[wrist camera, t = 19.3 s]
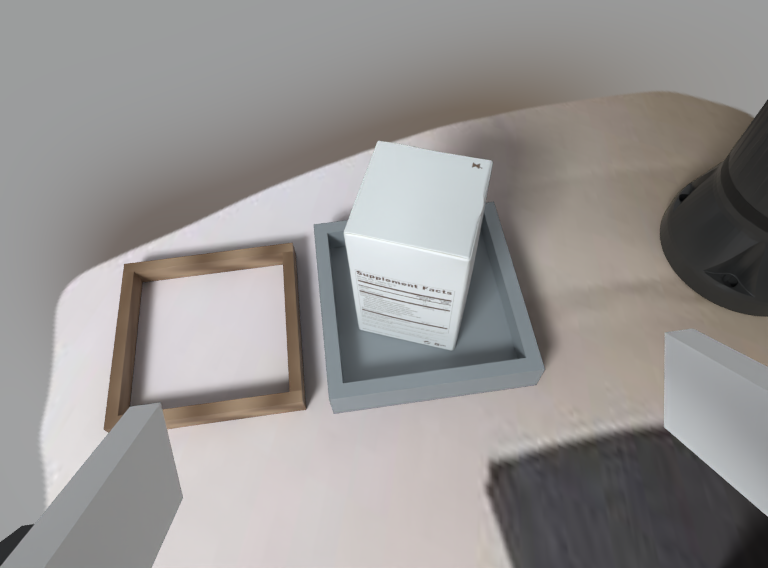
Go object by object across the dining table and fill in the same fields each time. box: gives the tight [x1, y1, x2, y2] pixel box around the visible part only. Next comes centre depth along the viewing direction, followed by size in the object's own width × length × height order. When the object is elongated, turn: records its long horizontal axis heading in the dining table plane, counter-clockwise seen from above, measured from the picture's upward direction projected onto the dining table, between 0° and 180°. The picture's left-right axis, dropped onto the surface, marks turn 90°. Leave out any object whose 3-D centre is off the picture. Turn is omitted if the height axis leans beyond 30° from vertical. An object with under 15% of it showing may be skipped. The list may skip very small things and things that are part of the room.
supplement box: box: [344, 141, 493, 351], centre depth 45 cm, size 9×9×15 cm
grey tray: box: [314, 202, 545, 414], centre depth 50 cm, size 17×17×4 cm
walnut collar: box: [104, 243, 306, 433], centre depth 50 cm, size 16×16×2 cm
